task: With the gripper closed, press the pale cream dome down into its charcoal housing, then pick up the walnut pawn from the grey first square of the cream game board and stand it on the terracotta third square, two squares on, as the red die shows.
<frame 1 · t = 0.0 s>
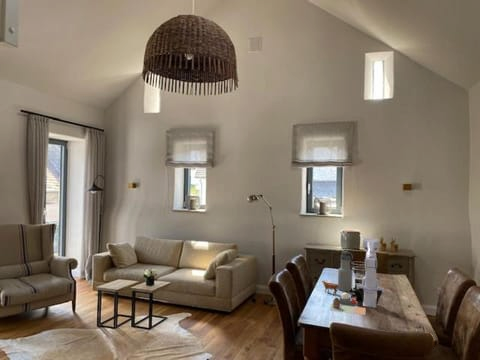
hand: (369, 302, 209), 10 cm above the table, tool pointing down, fingers open, 7 cm apart
dome housing: (348, 303, 238), on the table
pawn: (336, 307, 228), resting on game board
bull figurine: (329, 292, 261), on the table
game board: (348, 309, 226), on the table
dome: (345, 296, 238), point 4 cm above the table, slide at 0.0 cm
water bottle: (344, 290, 269), on the table
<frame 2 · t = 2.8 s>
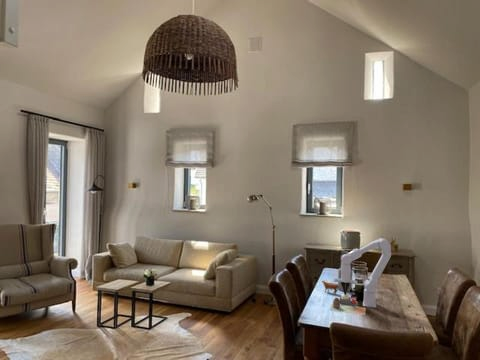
hand: (345, 293, 238), 6 cm above the table, tool pointing down, fingers closed, pressing on dome
dome: (345, 297, 238), point 4 cm above the table, slide at 0.7 cm, touching gripper
everything else where it was.
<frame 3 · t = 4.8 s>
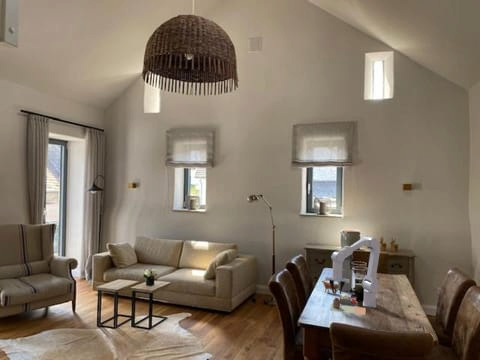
hand: (336, 293, 228), 9 cm above the table, tool pointing down, fingers open, 4 cm apart
dome: (345, 297, 238), point 3 cm above the table, slide at 0.9 cm
everything else where it was.
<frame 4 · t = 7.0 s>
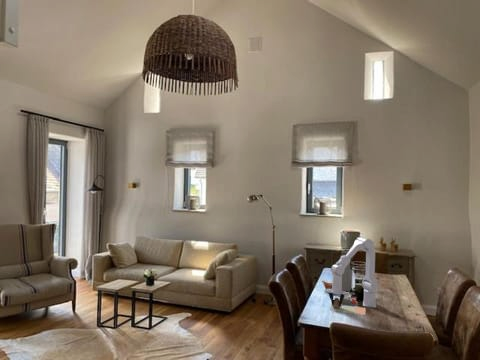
hand: (336, 305, 228), 1 cm above the table, tool pointing down, fingers closed on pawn, 4 cm apart
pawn: (336, 307, 228), resting on game board, touching gripper
everything else where it was.
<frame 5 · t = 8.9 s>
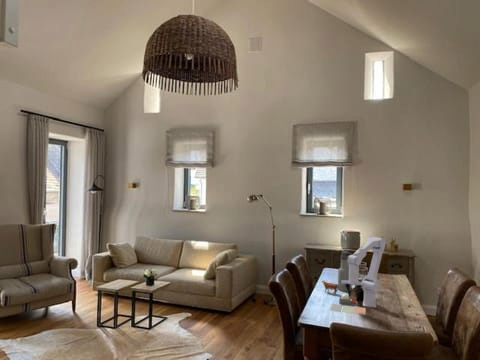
hand: (353, 296, 225), 8 cm above the table, tool pointing down, fingers closed on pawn, 4 cm apart
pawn: (353, 298, 225), point 7 cm above the table, touching gripper
everything else where it was.
when the fingers open (3 cm above the table, at t = 10.7 s): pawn drops 1 cm, resting on game board.
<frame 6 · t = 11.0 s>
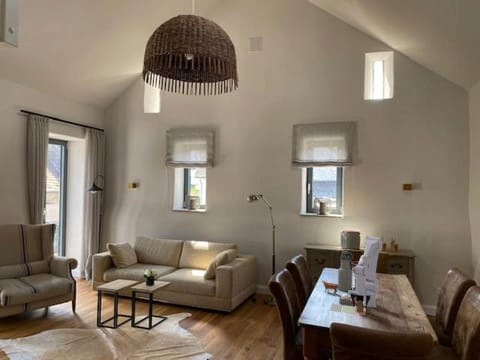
hand: (360, 307, 224), 3 cm above the table, tool pointing down, fingers open, 6 cm apart
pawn: (360, 310, 224), resting on game board
everything else where it was.
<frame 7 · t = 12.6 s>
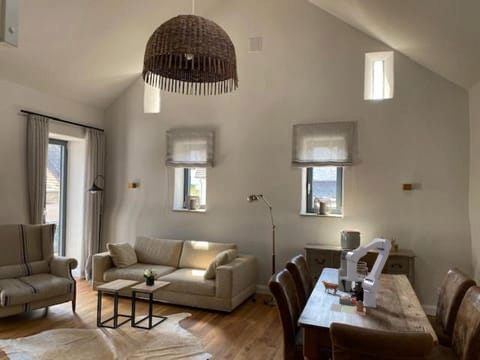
hand: (351, 292, 230), 9 cm above the table, tool pointing down, fingers open, 7 cm apart
nothing on the table moved.
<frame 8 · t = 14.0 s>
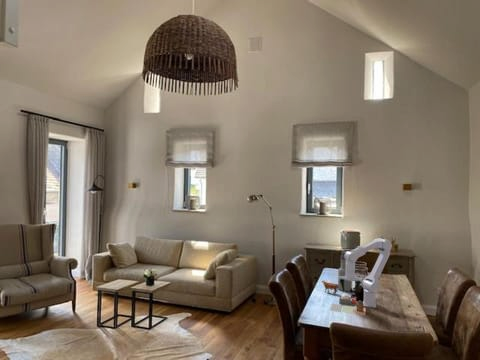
hand: (349, 292, 231), 9 cm above the table, tool pointing down, fingers open, 7 cm apart
nothing on the table moved.
at the end: dome slide at 0.9 cm; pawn 0.1 cm from the target spot, resting on game board; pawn tilted 0° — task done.
